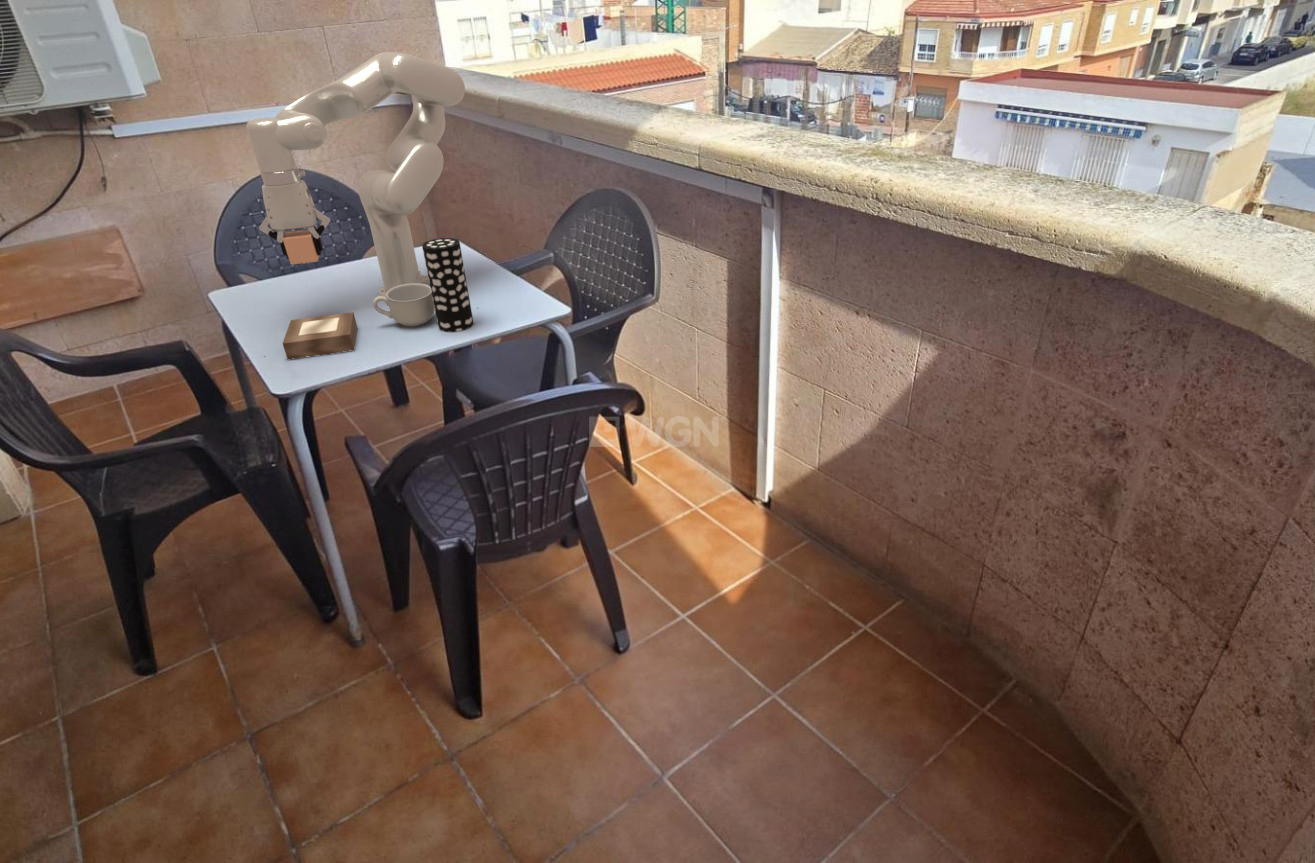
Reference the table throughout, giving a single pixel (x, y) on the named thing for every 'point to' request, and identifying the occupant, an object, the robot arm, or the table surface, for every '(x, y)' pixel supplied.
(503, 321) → the table surface
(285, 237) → the cube
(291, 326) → the plinth
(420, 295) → the teacup
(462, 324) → the spotted tube
